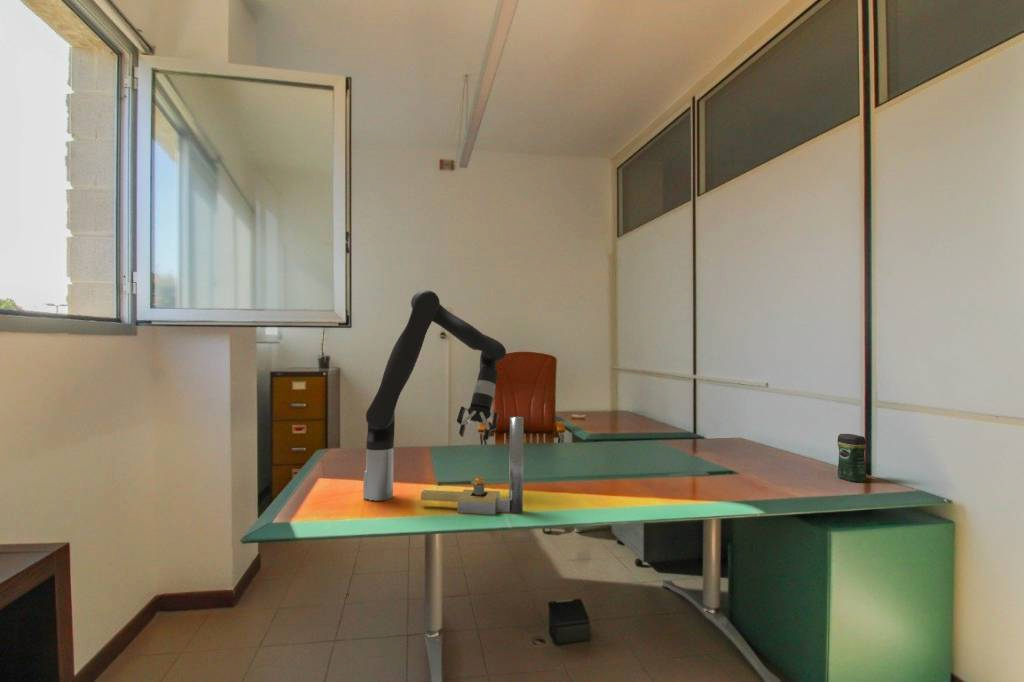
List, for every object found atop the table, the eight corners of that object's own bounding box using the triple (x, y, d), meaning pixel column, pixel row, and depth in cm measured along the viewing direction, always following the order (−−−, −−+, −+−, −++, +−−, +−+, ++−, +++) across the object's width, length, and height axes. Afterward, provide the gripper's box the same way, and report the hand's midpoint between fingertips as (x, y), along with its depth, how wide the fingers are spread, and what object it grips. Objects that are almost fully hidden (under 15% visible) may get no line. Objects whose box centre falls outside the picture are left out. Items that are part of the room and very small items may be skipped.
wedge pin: (472, 510, 162) (472, 479, 162) (474, 507, 166) (474, 476, 166) (483, 511, 162) (483, 480, 162) (485, 508, 165) (485, 477, 165)
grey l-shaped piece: (418, 510, 162) (419, 416, 162) (426, 502, 171) (427, 413, 171) (520, 516, 157) (521, 419, 158) (524, 507, 166) (525, 416, 167)
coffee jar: (870, 482, 203) (870, 435, 203) (854, 483, 201) (854, 436, 201) (849, 476, 212) (849, 432, 213) (833, 477, 210) (833, 432, 211)
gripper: (462, 388, 182) (451, 432, 177) (500, 395, 179) (490, 440, 174) (467, 394, 189) (456, 436, 184) (503, 400, 186) (494, 444, 181)
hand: (473, 438), depth 179 cm, fingers open, 8 cm apart
